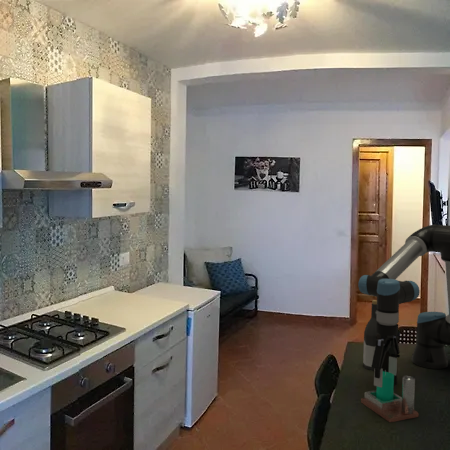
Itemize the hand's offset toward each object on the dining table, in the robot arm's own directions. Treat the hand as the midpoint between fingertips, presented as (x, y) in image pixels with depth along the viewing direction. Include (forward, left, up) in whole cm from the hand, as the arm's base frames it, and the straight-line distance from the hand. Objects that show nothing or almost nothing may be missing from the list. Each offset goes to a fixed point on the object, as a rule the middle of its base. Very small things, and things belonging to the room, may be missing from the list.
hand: (385, 380), depth 173 cm
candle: (0, 0, -8) cm, 8 cm away
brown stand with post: (0, +3, -10) cm, 10 cm away
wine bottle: (-20, -33, -10) cm, 40 cm away
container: (-15, -18, -10) cm, 25 cm away
